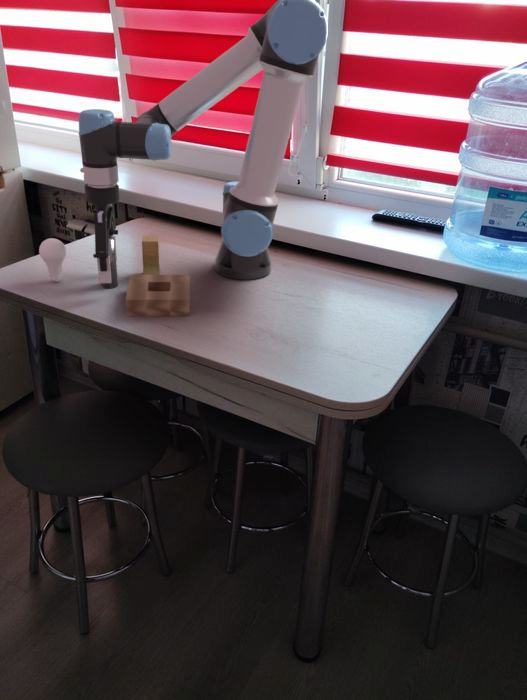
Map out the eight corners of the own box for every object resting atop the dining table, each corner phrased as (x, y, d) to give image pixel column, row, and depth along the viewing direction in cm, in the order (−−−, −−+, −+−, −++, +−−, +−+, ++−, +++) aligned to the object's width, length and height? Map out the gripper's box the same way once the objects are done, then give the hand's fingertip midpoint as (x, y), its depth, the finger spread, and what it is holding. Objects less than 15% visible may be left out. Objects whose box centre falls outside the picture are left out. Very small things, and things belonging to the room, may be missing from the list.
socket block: (189, 289, 147) (189, 274, 145) (189, 315, 135) (189, 299, 133) (131, 289, 145) (130, 274, 143) (126, 315, 133) (125, 299, 131)
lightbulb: (62, 288, 143) (56, 244, 138) (38, 284, 144) (32, 241, 139) (74, 278, 148) (69, 236, 143) (51, 275, 149) (45, 233, 144)
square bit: (160, 272, 155) (158, 236, 150) (159, 278, 151) (158, 241, 146) (144, 272, 154) (142, 235, 149) (143, 278, 151) (141, 241, 146)
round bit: (118, 281, 148) (115, 235, 142) (117, 288, 145) (113, 241, 139) (102, 281, 148) (98, 235, 142) (100, 288, 144) (96, 241, 138)
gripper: (91, 169, 144) (99, 252, 155) (75, 199, 123) (85, 292, 133) (123, 170, 145) (128, 252, 155) (112, 200, 123) (119, 292, 134)
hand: (108, 271), depth 144 cm, fingers open, 13 cm apart
